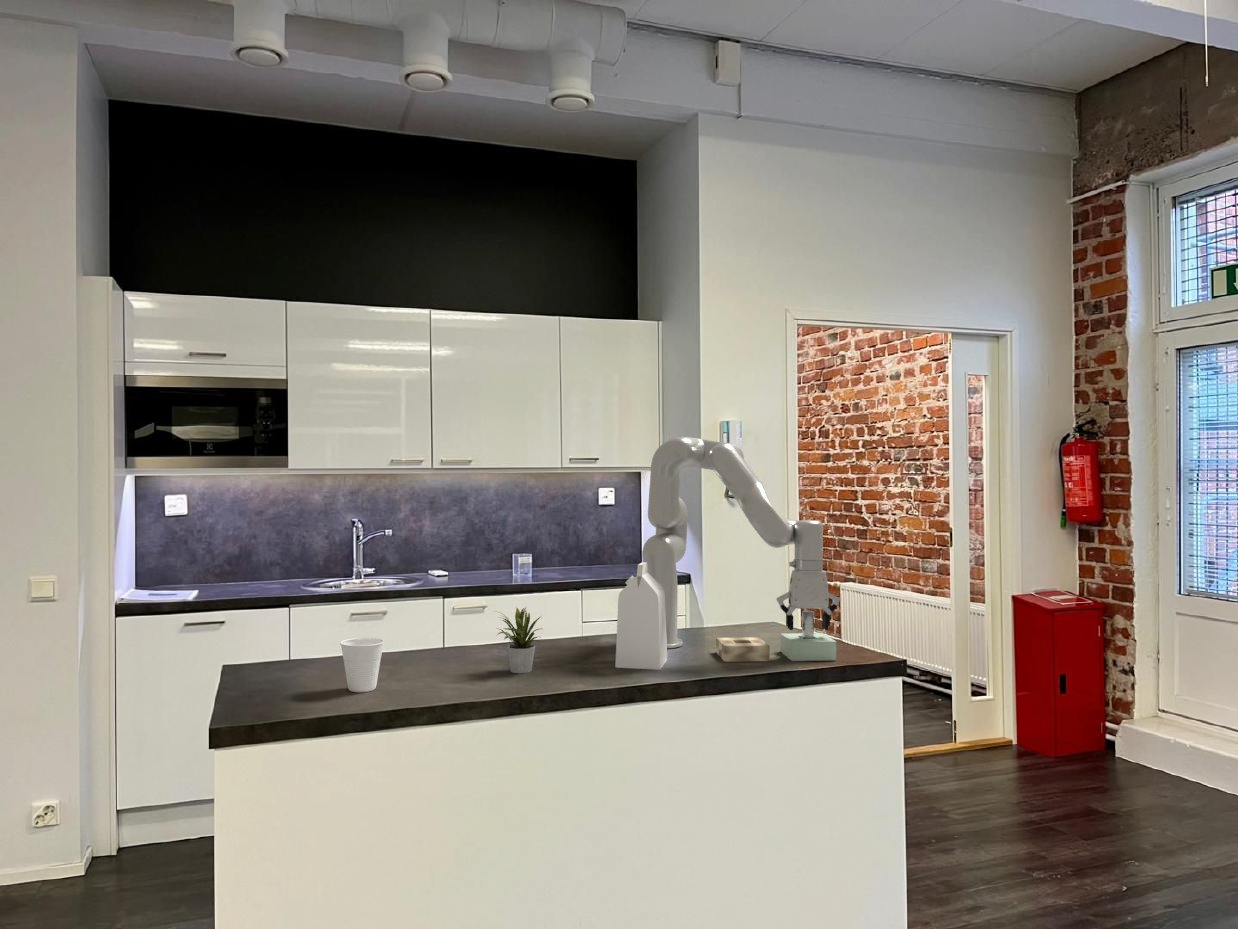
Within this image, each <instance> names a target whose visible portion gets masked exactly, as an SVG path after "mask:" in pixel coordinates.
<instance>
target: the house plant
mask: <svg viewBox="0 0 1238 929" xmlns="http://www.w3.org/2000/svg"><path fill="white" fill-rule="evenodd" d="M526 608H527V606H525V607H523V608H522V609H519V608H518V607H517V606H516V607H515V615H514V617H515V625H516V628H515V627H514V625H513V624H512V622H511V621H510V620H509V618H508V617H507V616H506V615H505V614H504V613H502V612H500V611H497V610H496V611H495V610H494V612H496V613H499V614H502V616H501V615H499V616H498V618H499V619H502V621H503V622H504V623H505V624H507V625H506V626H508V627H506V628H502V629H501V628H497V627H496V629H497V630H500V632H498V633H497V634H496V636H498V635H500V634H503V635H505V637H504V639H503V640H506V639H509V641H510V642H512V643H511V644H508V645H507V646H506V650H507V656H508V663H509V669H510V672H511V673H513V674H528V673H531V672H532V668H533V662H534V656H535V651H536V645H535V644H532V642H533V641H534V640H535V639H537V638H538V636H534V635H535V632H536V631H539V630H540V628H536V629H534V630H533V628H534V626H535V625H536V623H537V621H539V619H541V618H542V615H540V616H539V617H538V618H537V619H535V620H534V621H533V622H532V623H531V622H530V621H531V613H530V612H528V611H527V609H526ZM520 610H521V611H520ZM530 623H531V625H530ZM529 625H530V626H529ZM504 630H507V631H504ZM532 630H533V631H532ZM542 630H544V629H543V628H542ZM508 631H511V633H512V634H513V635H512V634H510V633H509V632H508ZM531 631H532V632H531ZM539 638H540V639H542V638H541V636H539Z"/></svg>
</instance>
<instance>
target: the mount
mask: <svg viewBox="0 0 1238 929" xmlns="http://www.w3.org/2000/svg"><path fill="white" fill-rule="evenodd" d="M770 647H771V646H770V645H769V644H768V643H767V642H765V641H764V640H763V639H762V638H761V637H760V636H759V637H756V636H753V637H752V636H751V637H750V636H749V637H747V636H746V637H745V636H744V637H743V636H742V637H716V639H715V653H716V654H717V655H718V656H719V657H720V659H721V660H722V661H723V662H724V663H725V662H727V663H728V662H770V659H771V658H770V654H771V653H770V652H771V651H770Z"/></svg>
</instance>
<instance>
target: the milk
mask: <svg viewBox="0 0 1238 929" xmlns="http://www.w3.org/2000/svg"><path fill="white" fill-rule="evenodd" d="M625 584H626V586H625V587H624V588H622V590H620V592H619V594H618V599H617V621H616V622H617V623H616V624H617V625H616V643H615V644H616V647H615V666H614V667H615V668H619V669H620V668H622V669H635V670H636V669H637V670H638V669H639V670H640V669H641V670H654V671H655V670H658V671H660V670H661V669H662V668H663V666H664V665H665V664H666V662H667V661H668V648H667V640H666V613H665V592H664V589H663V588H662V587H661V585H660V584H659V583H658V582H657V581H656V580H655V579H654V578H653V577H652V576H651V575H649V574H648V573H647V562H643V561H642V562H640V563H639V564H637V570H636V576H634V575H631V576H629V578H628V579H627V580H626V581H625Z"/></svg>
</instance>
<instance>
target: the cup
mask: <svg viewBox="0 0 1238 929" xmlns="http://www.w3.org/2000/svg"><path fill="white" fill-rule="evenodd" d="M385 642H386V641H385V640H384V639H382V638H379V637H378V638H377V637H354V638H347V639H344V640H341V641H340V642H339V644H340V646H341V652H342V660H343V664H344V671H345V677H346V683H347V688H348V690H349V691H350V692H352V693H368V692H372V691H374V690H375V689H376V688H377V684H378V677H379V671H380V665H381V658H382V654H383V649H384V648H383V647H384V644H385Z"/></svg>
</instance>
